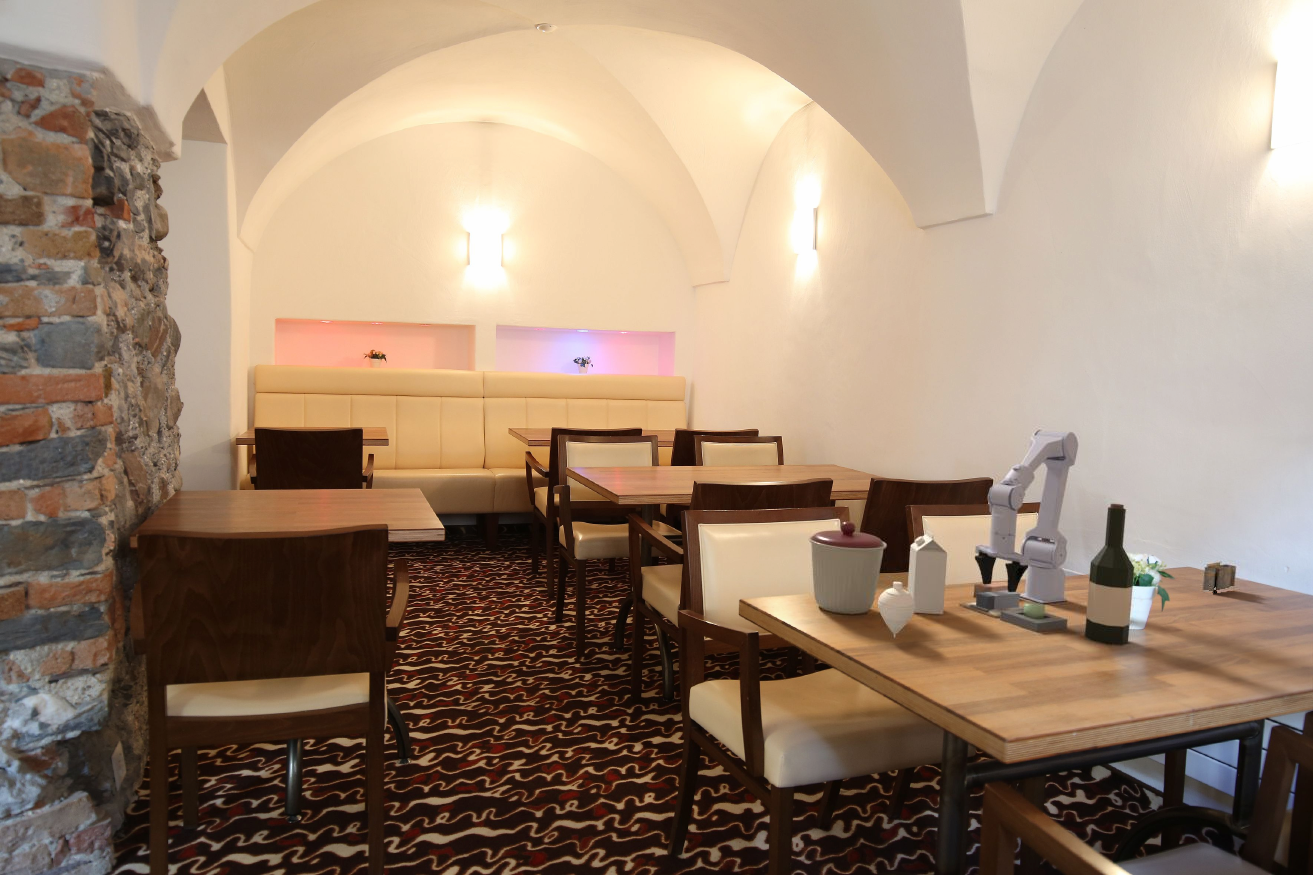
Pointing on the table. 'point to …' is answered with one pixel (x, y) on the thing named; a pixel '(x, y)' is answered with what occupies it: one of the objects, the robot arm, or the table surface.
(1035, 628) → the button housing
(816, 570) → the canister
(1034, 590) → the robot arm
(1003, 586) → the block
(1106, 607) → the wine bottle
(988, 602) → the grey rectangular bar
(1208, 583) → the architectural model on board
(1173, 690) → the table surface
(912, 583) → the milk carton
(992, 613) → the tan flat tray
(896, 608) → the spinning top
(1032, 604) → the button
